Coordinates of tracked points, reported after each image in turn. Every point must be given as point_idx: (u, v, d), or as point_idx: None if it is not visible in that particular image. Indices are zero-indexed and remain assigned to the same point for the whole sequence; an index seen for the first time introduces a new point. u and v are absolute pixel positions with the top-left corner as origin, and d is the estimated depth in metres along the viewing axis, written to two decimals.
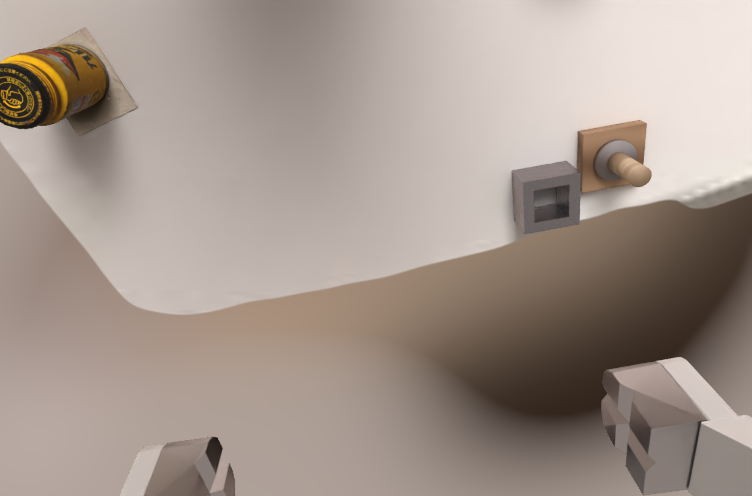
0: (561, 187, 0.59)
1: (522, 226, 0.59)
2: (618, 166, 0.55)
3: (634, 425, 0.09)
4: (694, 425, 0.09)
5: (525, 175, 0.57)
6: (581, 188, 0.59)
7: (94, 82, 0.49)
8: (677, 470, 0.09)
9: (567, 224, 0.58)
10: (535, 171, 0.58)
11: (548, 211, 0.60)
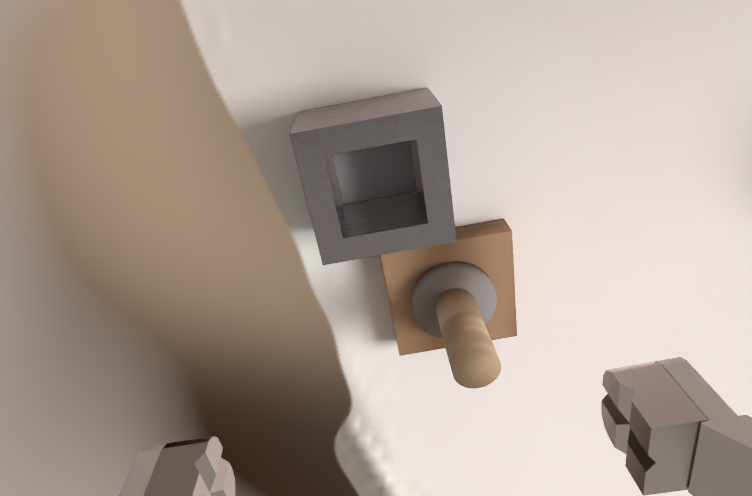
0: (396, 209, 0.25)
1: (305, 127, 0.22)
2: (470, 314, 0.25)
3: (634, 425, 0.09)
4: (694, 425, 0.09)
5: None
6: None
7: None
8: (677, 470, 0.09)
9: (321, 238, 0.23)
10: None
11: (336, 189, 0.25)
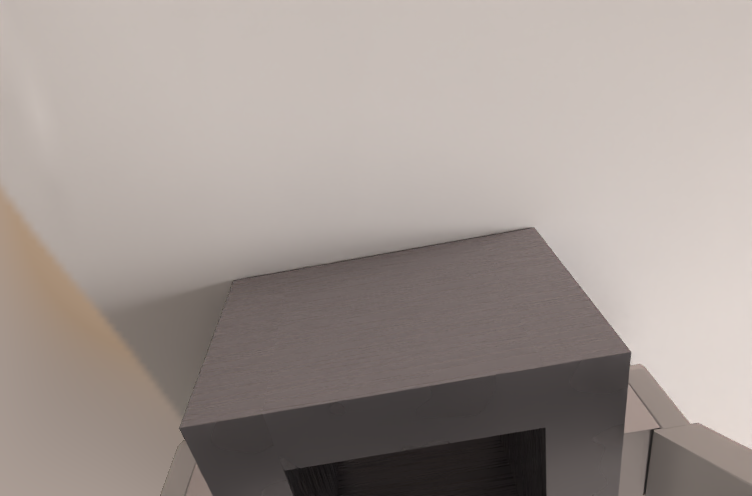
0: (457, 484, 0.11)
1: (232, 386, 0.08)
2: None
3: None
4: (647, 433, 0.09)
5: None
6: None
7: None
8: (633, 477, 0.09)
9: None
10: None
11: None
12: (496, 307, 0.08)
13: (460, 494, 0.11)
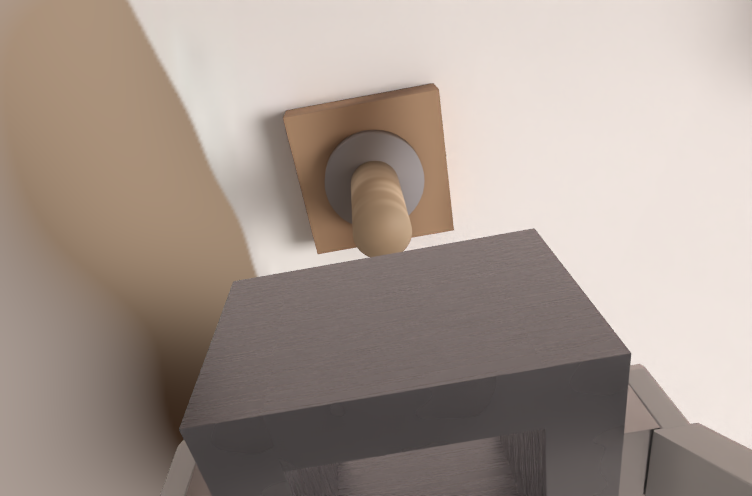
0: (457, 485, 0.11)
1: (232, 387, 0.08)
2: (383, 179, 0.21)
3: None
4: (647, 433, 0.09)
5: None
6: (293, 115, 0.23)
7: None
8: (633, 477, 0.09)
9: None
10: None
11: None
12: (496, 308, 0.08)
13: (460, 495, 0.11)
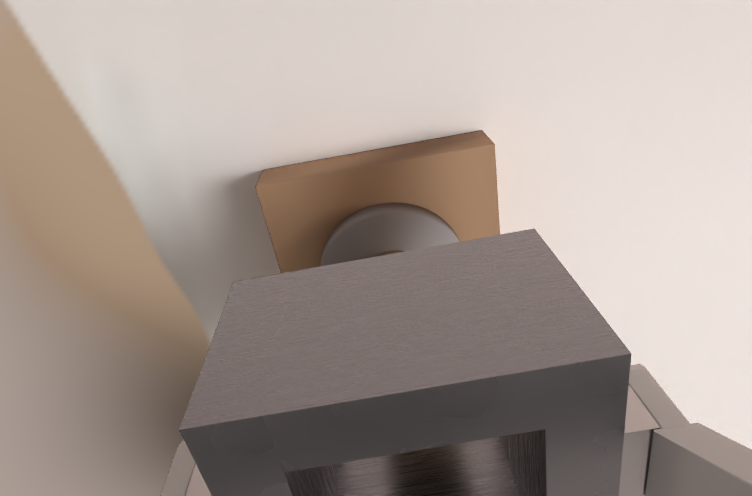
0: (457, 485, 0.11)
1: (232, 388, 0.08)
2: None
3: None
4: (647, 433, 0.09)
5: None
6: (271, 181, 0.15)
7: None
8: (633, 477, 0.09)
9: None
10: None
11: None
12: (496, 308, 0.08)
13: (460, 495, 0.11)
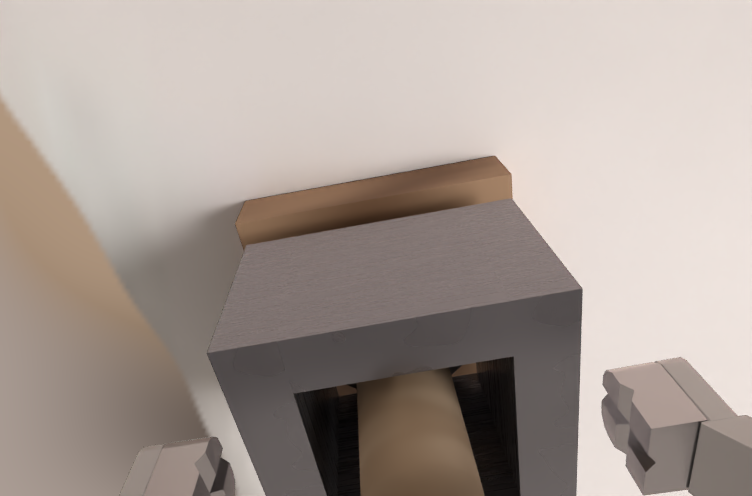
0: None
1: (250, 323, 0.09)
2: None
3: (634, 425, 0.09)
4: (694, 425, 0.09)
5: None
6: (254, 217, 0.13)
7: None
8: (677, 470, 0.09)
9: None
10: None
11: (325, 401, 0.12)
12: (474, 259, 0.10)
13: None
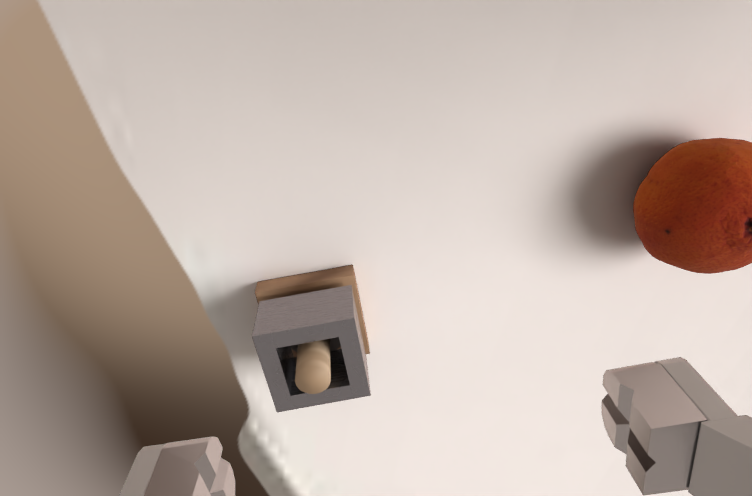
0: (331, 366, 0.36)
1: (263, 328, 0.32)
2: None
3: (634, 425, 0.09)
4: (694, 425, 0.09)
5: (355, 313, 0.33)
6: (261, 289, 0.35)
7: None
8: (677, 470, 0.09)
9: (275, 396, 0.33)
10: (358, 324, 0.34)
11: (287, 355, 0.35)
12: (330, 308, 0.33)
13: (331, 368, 0.35)
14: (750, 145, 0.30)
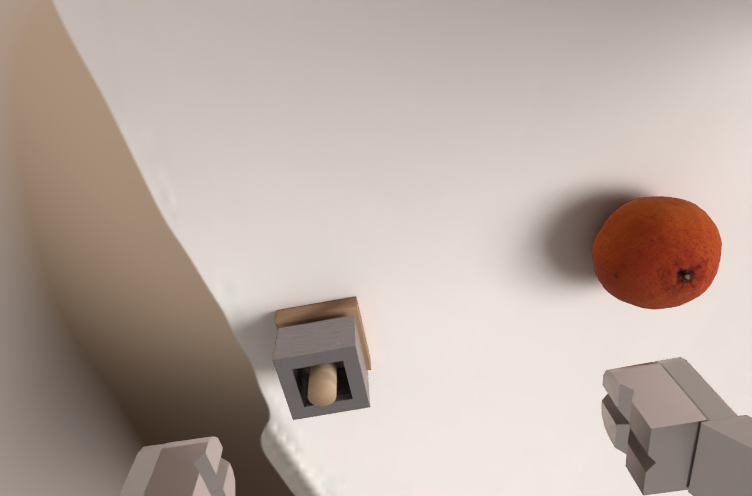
0: (337, 381, 0.43)
1: (281, 352, 0.39)
2: None
3: (634, 425, 0.09)
4: (694, 425, 0.09)
5: (357, 340, 0.40)
6: (280, 318, 0.43)
7: None
8: (677, 470, 0.09)
9: (291, 407, 0.41)
10: (360, 348, 0.42)
11: (301, 373, 0.42)
12: (336, 336, 0.40)
13: (337, 384, 0.42)
14: (685, 205, 0.36)
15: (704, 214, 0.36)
